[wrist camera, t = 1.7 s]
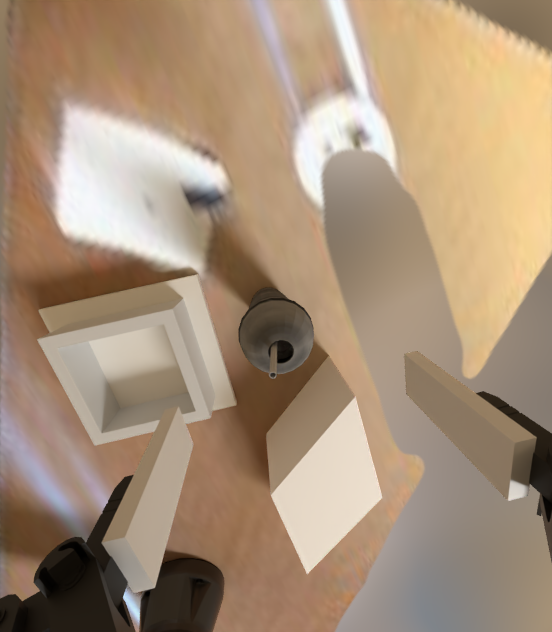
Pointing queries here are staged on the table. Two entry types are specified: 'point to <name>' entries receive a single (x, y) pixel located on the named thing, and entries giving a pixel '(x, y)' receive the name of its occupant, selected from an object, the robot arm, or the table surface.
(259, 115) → the table surface
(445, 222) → the table surface
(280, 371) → the beverage cup
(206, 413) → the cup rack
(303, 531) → the block
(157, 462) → the robot arm
